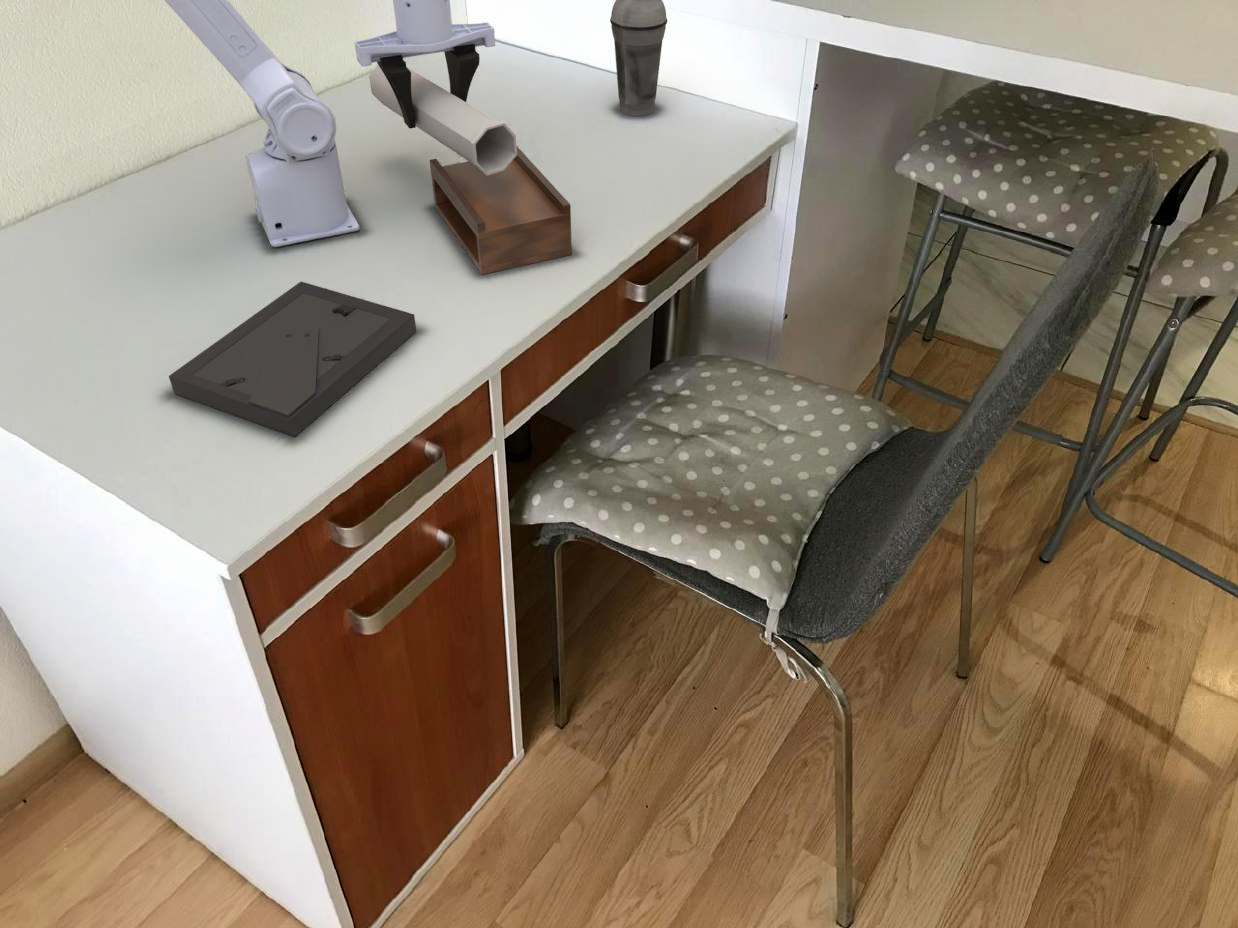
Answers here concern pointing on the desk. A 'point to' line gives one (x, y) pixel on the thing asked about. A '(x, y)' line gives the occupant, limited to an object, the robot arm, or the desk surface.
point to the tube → (452, 122)
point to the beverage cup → (638, 52)
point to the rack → (503, 213)
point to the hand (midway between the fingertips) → (434, 120)
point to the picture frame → (294, 357)
